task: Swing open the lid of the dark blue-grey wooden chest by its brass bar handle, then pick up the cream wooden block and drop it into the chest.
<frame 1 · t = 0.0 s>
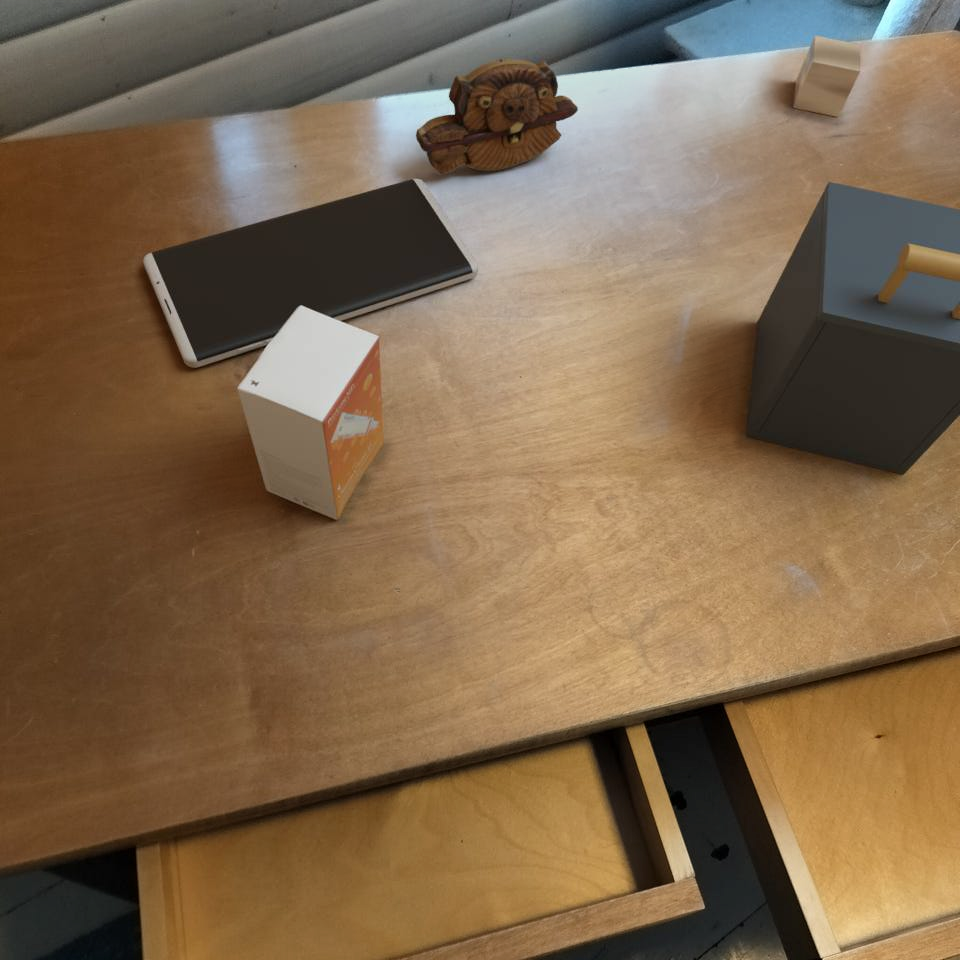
small box: (327, 467, 67), on the table
smartphone: (315, 275, 77), on the table
wooden carving: (496, 164, 86), on the table
block: (816, 99, 95), on the table
chest: (826, 394, 73), on the table
lid: (932, 242, 58), point 18 cm above the table, hinge at 0.0°
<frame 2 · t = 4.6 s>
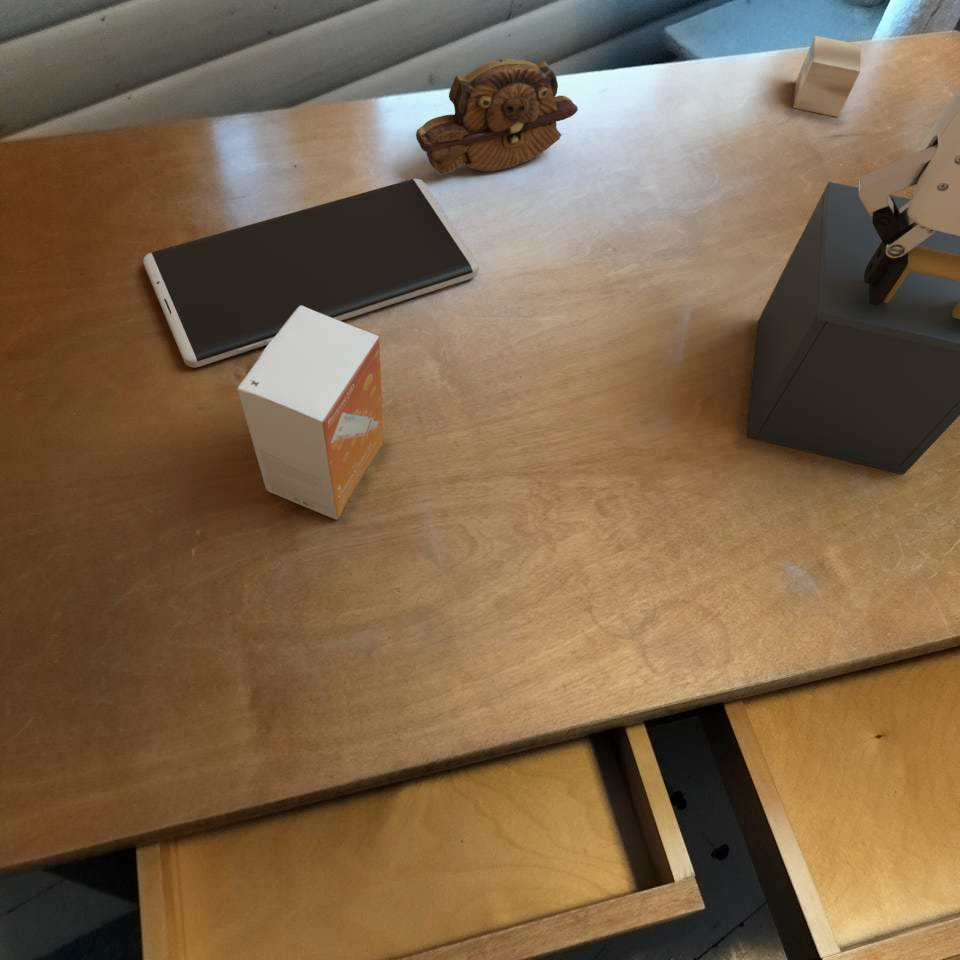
hand: (925, 299, 57), 16 cm above the table, tool pointing down, fingers closed on lid, 6 cm apart
lid: (932, 242, 58), point 18 cm above the table, hinge at 0.0°, touching gripper
everything else where it was.
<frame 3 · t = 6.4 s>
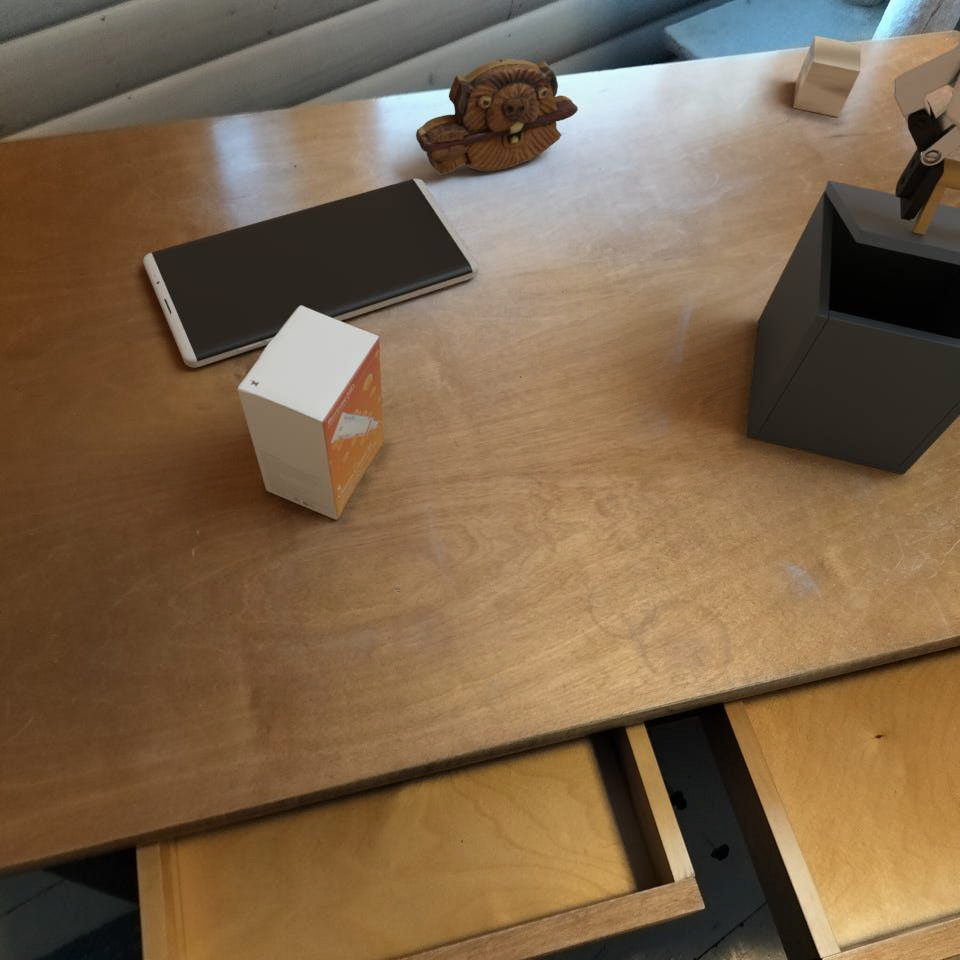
hand: (959, 215, 55), 21 cm above the table, tool pointing down, fingers closed on lid, 6 cm apart
lid: (952, 195, 57), point 20 cm above the table, hinge at 25.6°, touching gripper
everything else where it was.
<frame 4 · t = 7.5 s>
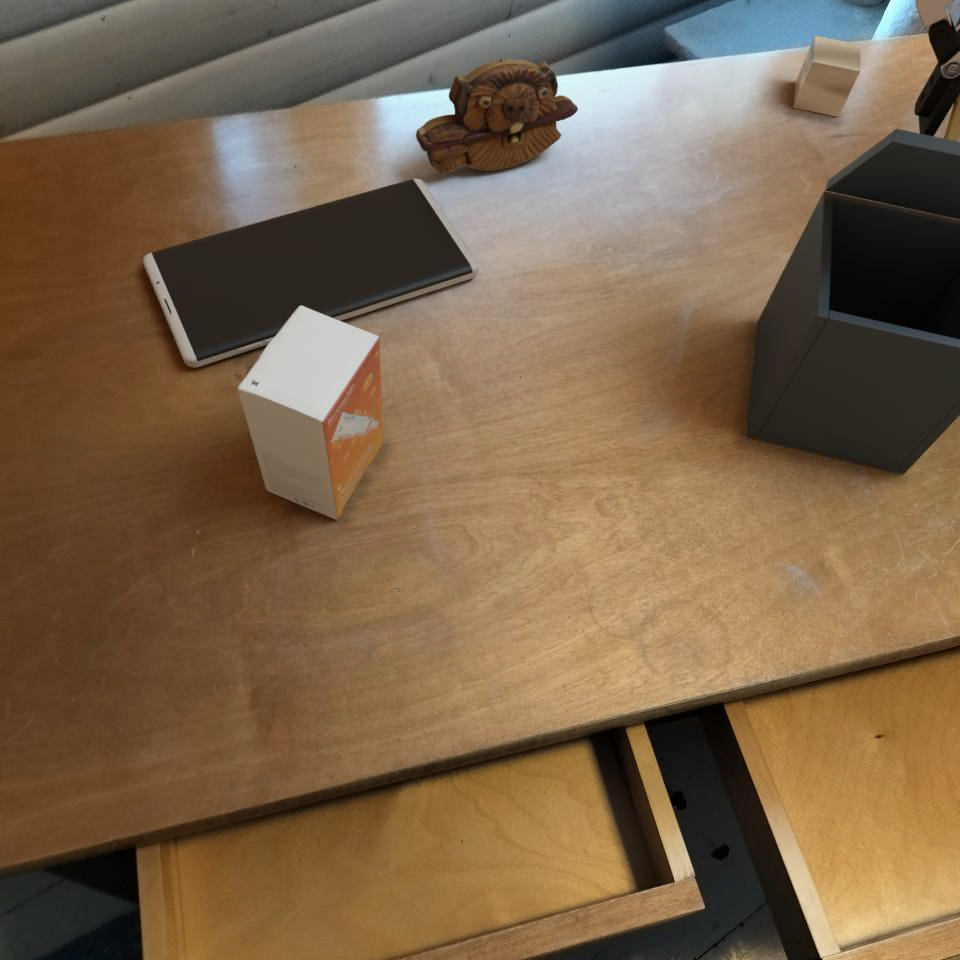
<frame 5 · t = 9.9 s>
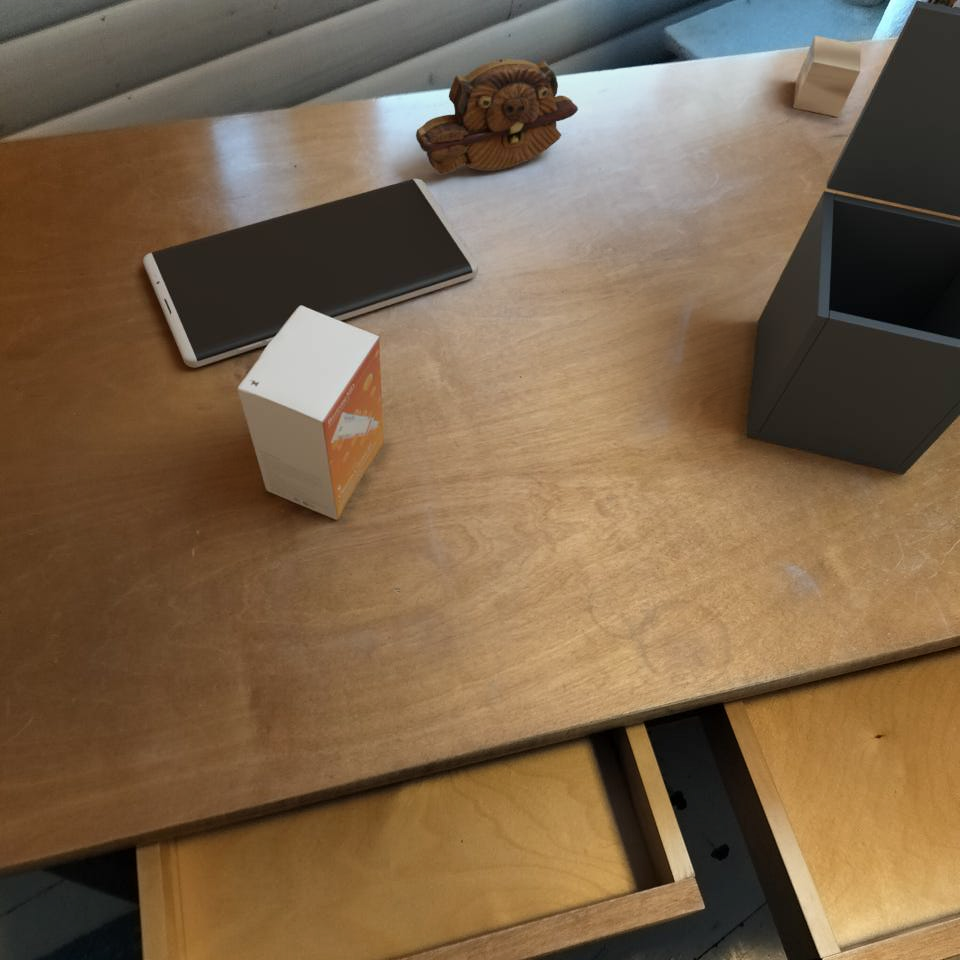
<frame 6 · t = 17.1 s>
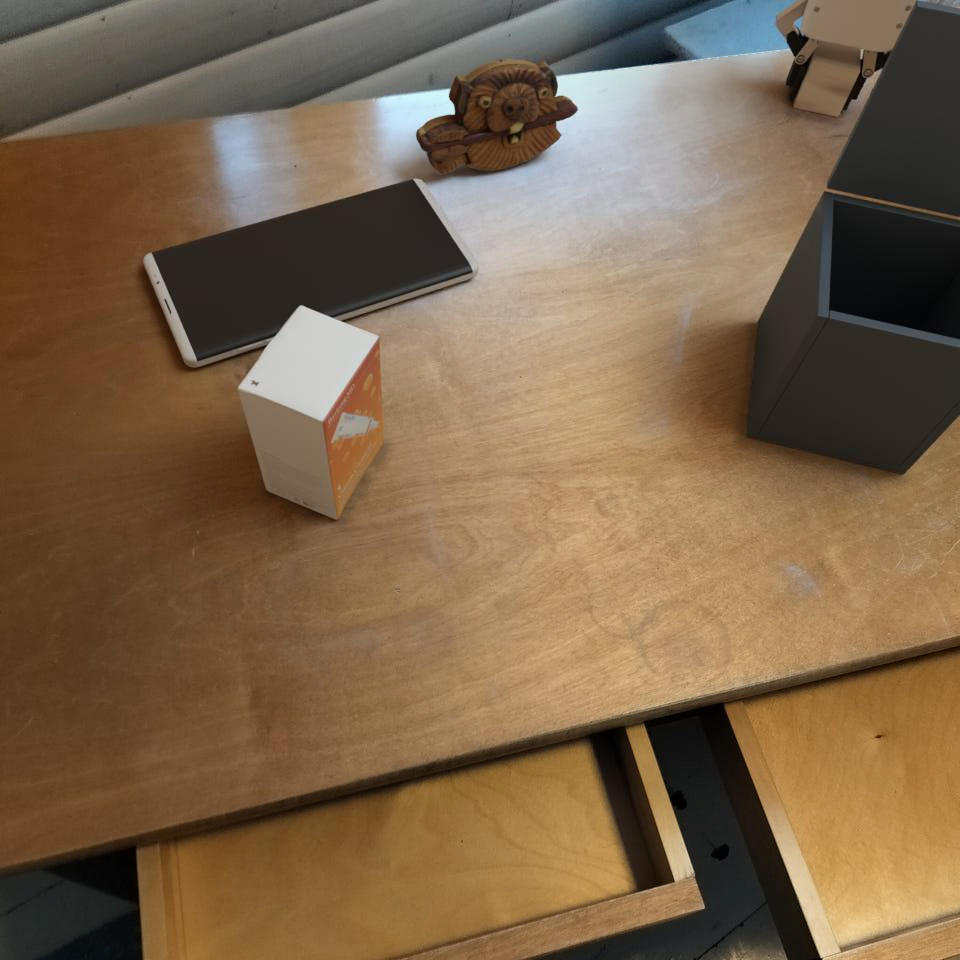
hand: (818, 95, 95), 0 cm above the table, tool pointing down, fingers closed on block, 5 cm apart
block: (816, 99, 95), on the table, touching gripper
when the fingers open (15 cm above the table, at t = 30.5 s): block drops 14 cm, resting on chest.
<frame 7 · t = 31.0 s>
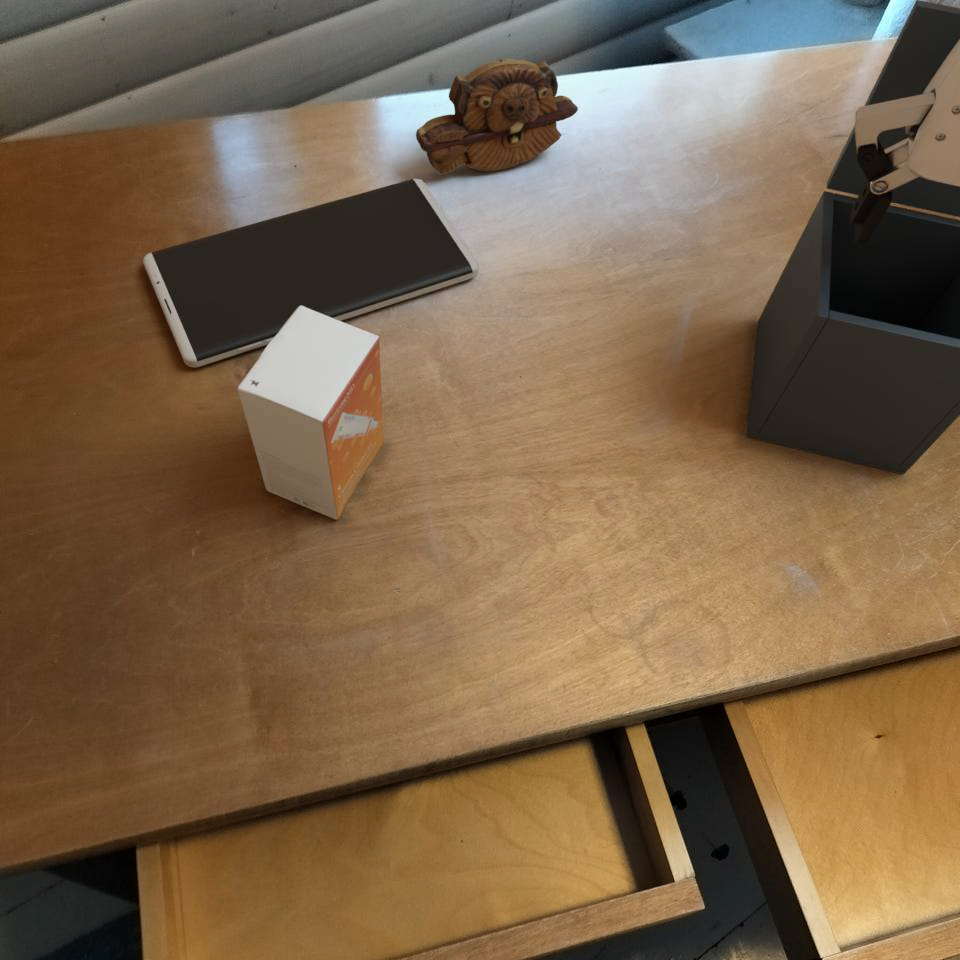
hand: (929, 244, 59), 17 cm above the table, tool pointing down, fingers open, 9 cm apart
block: (831, 388, 73), point 1 cm above the table, touching chest
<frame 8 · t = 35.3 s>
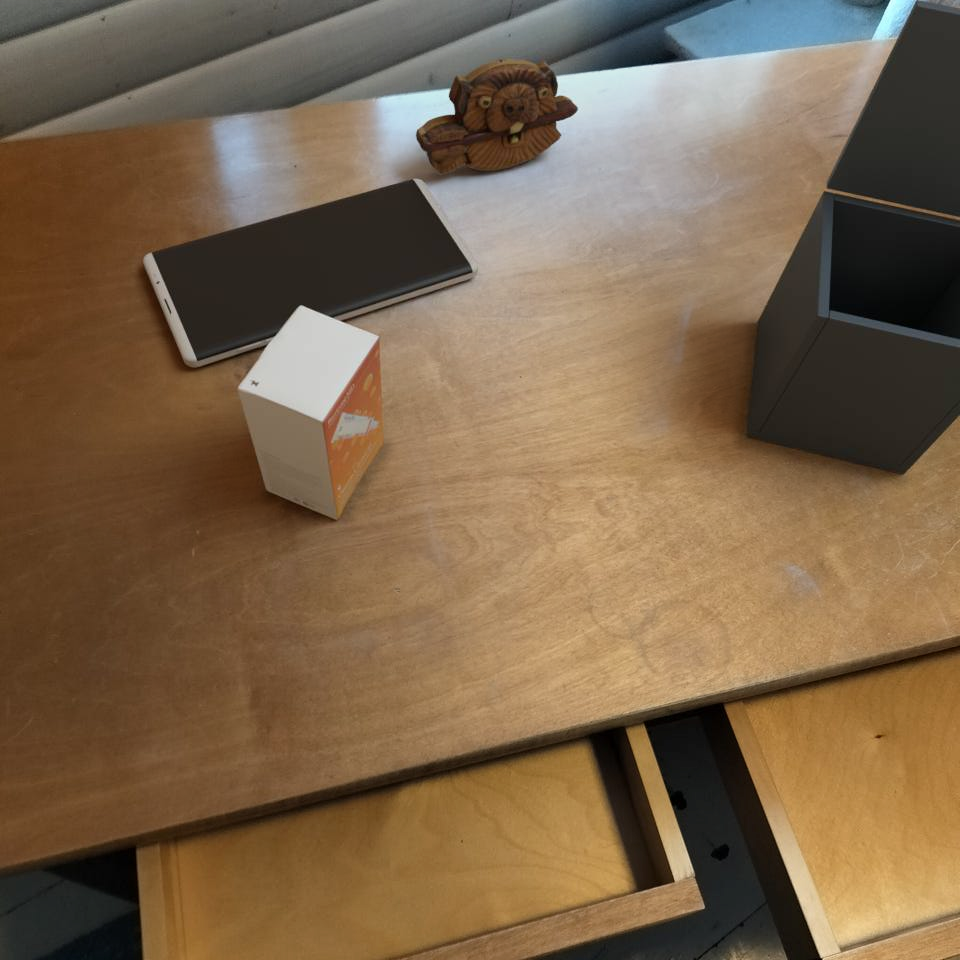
at the end: lid at +92° (first picture: +0°); block inside the target area in the chest (0.1 cm from its centre), point 0.8 cm above the chest's base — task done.
